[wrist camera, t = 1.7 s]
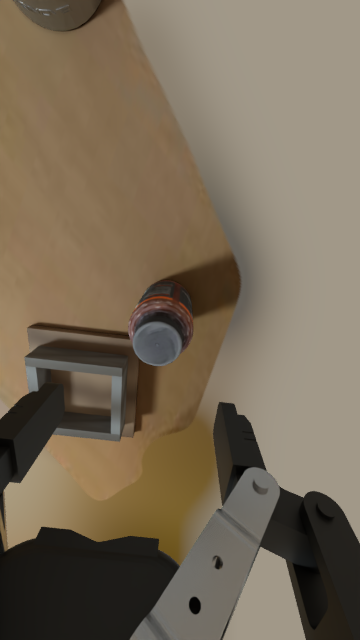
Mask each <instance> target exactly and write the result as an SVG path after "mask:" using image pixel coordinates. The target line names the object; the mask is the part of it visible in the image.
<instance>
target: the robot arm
mask: <svg viewBox="0 0 360 640" xmlns="http://www.w3.org/2000/svg"><path fill="white" fill-rule="evenodd" d="M13 1H14V2H15V3H16V4H17V6H18V7H19V8H20V10H21V11H22V12H23V13H24V14H25V15H26V16H27V17H29V18H30V19H31V20H32V21H33V22H35V23H37V24H38V25H40V26H42V27H44V28H47V29H50V30H54V31H68V30H71V29H74V28H77V27H79V26H80V25H82V24H83V23H85V22H86V21H87V20H88V19H89V18H90V17H91V16H92V15H93V14H94V12H95V11H96V9H97V7H98V5H99V4H100V2H101V0H13ZM64 412H65V401H64V386H63V384H60V383H51V382H46V383H44V384H43V385H42V387H41V388H40V389H39V390H38V391H32V392H30V393H29V394H27V395H25V396H23V397H22V398H21V399H20V400H19V401H18V402H17V403H16V404H15V405H14V407H12V408H11V409H10V410H9V411H8V413H6V414H5V415H4V416H3V417H2V418H1V419H0V640H223V638H224V635H225V633H226V630H227V628H228V625H229V623H230V620H231V618H232V616H233V613H234V610H235V608H236V605H237V603H238V600H239V598H240V595H241V593H242V590H243V587H244V585H245V583H246V580H247V578H248V576H249V573H250V571H251V568H252V566H253V563H254V561H255V558H256V556H257V554H258V551H259V549H260V547H263V548H264V549H266V550H269V551H270V552H272V553H274V554H276V555H278V556H280V557H282V558H284V559H286V563H287V567H288V571H289V575H290V579H291V582H292V587H293V590H294V594H295V598H296V602H297V606H298V610H299V614H300V618H301V622H302V626H303V630H304V633H305V638H306V640H360V543H359V541H358V539H357V537H356V536H355V534H354V532H353V530H352V528H351V526H350V524H349V522H348V520H347V518H346V516H345V514H344V512H343V511H342V509H341V508H340V507H339V505H338V504H337V503H336V502H335V501H333V500H332V499H331V498H330V497H328V496H327V495H324V494H322V493H320V492H315V491H312V492H308V493H307V494H306V495H305V496H304V498H303V497H301V496H298V495H296V494H293V493H291V492H289V491H286V490H284V489H283V488H281V487H280V486H279V485H278V483H277V481H276V480H275V478H274V477H273V476H272V475H271V474H269V473H268V472H267V471H266V468H265V465H264V462H263V459H262V456H261V453H260V450H259V447H258V444H257V442H256V438H255V435H254V432H253V429H252V426H251V423H250V422H249V421H248V420H247V418H246V417H245V416H244V415H237V411H236V408H235V405H234V404H232V403H223V402H219V405H218V409H217V414H216V418H215V423H214V430H213V431H214V432H213V437H214V446H215V454H216V461H217V468H218V477H219V484H220V492H221V500H222V506H223V507H222V508H221V509H217V510H216V511H215V513H214V514H213V516H212V517H211V519H210V520H209V522H208V524H207V525H206V527H205V528H204V530H203V531H202V533H201V535H200V536H199V538H198V539H197V541H196V542H195V544H194V545H193V547H192V549H191V550H190V552H189V553H188V555H187V556H186V558H185V560H184V561H183V563H182V564H181V566H179V565H178V564H177V562H175V561H174V560H173V559H172V558H171V557H170V556H168V555H167V554H165V553H164V552H162V551H160V550H158V544H159V539H153V538H144V537H135V536H128V537H124V538H118V539H113V540H108V541H103V542H96V541H93V540H91V539H89V538H87V537H85V536H82V535H81V534H78V533H76V532H74V531H72V530H68V529H57V528H49V527H41V529H40V531H39V533H38V535H37V537H36V538H35V539H31V540H28V541H25V542H22V543H20V544H18V545H15V546H14V547H12V548H10V549H8V543H7V530H6V511H5V494H4V489H5V488H6V486H7V485H8V483H9V482H14V483H21V481H22V480H23V478H24V477H25V475H26V474H27V472H28V471H29V469H30V468H31V466H32V464H33V463H34V461H35V460H36V458H37V457H38V455H39V454H40V452H41V451H42V449H43V448H44V446H45V445H46V443H47V442H48V440H49V439H50V437H51V436H52V434H53V433H54V431H55V430H56V428H57V427H58V425H59V424H60V422H61V420H62V418H63V416H64Z"/></svg>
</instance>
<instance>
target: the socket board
mask: <svg viewBox="0 0 360 640" xmlns="http://www.w3.org/2000/svg"><path fill="white" fill-rule="evenodd" d="M27 332H28V340H29V349H30V353H29V354H28V355H27V356H25V365H26V373H27V381H28V389H29V393H30V392H32V391H38V390H39V389H40V388H41V387H42V385H43V384H44V383H46V382H51V383H60V384H63V386H64V401H65V412H64V416H63V418H62V420H61V422H60V424H59V425H58V427H57V428H56V430H55V431H54V433H53V434H54V435H63V436H73V437H82V438H91V439H101V440H110V441H119V442H120V439H121V436H123V437H132V438H133V436H134V432H135V416H136V400H137V384H138V369H139V357H138V356H137V355H136V353H135V351H134V348H133V344H132V342H131V340H130V337H129V336H123V335H114V334H106V333H97V332H88V331H80V330H71V329H62V328H54V327H45V326H36V325H31V326H29V327H28V328H27Z"/></svg>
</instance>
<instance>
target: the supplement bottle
mask: <svg viewBox="0 0 360 640" xmlns="http://www.w3.org/2000/svg"><path fill="white" fill-rule="evenodd" d="M128 331H129V337H130V340H131V342H132V344H133V348H134V351H135V353H136V355H137V356H138V357H139V358H140V359H141V360H142V361H143V362H145V363H147V364H150V365H153V366H164V365H167V364H169V363H172V362H173V361H174V360H175V359H176V358H177V357H178V356H179V354H181V353H182V352H183V351H184V350H185V349H186V348H187V347H188V345H189V344H190V342H191V339H192V336H193V316H192V303H191V299H190V296H189V294H188V292H187V290H186V289H185V288H184V287H183V286H182V285H180V284H179V283H177V282H174V281H170V280H163V281H159V282H156V283H154V284H152V285H151V286H150V287H149V288H148V289H147V290H146V292H145V293H144V295H143V296H142V298H141V300H140V301H139V303H138V305H137V306H136V308H135V310H134V311H133V313H132V315H131V317H130V320H129V326H128Z"/></svg>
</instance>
